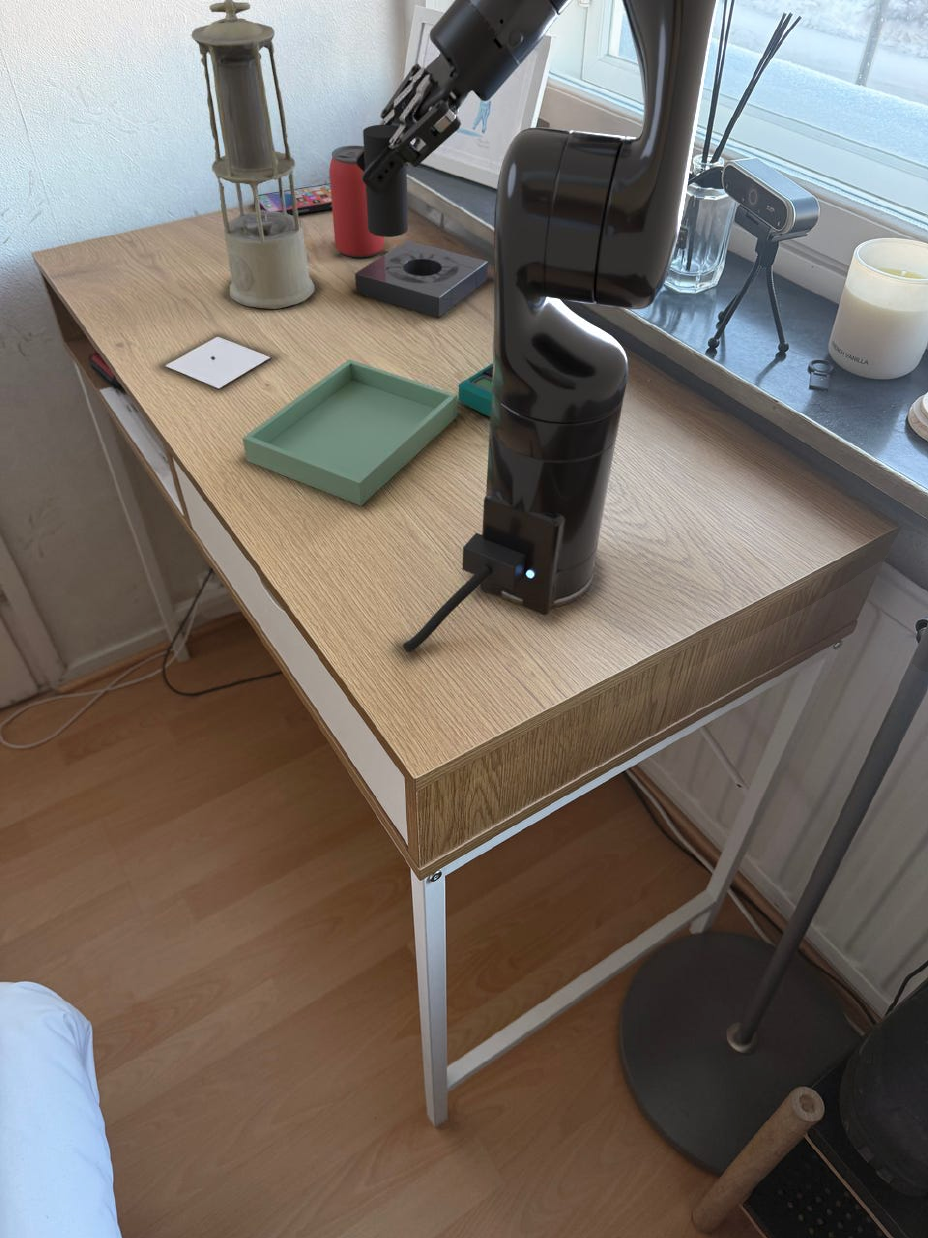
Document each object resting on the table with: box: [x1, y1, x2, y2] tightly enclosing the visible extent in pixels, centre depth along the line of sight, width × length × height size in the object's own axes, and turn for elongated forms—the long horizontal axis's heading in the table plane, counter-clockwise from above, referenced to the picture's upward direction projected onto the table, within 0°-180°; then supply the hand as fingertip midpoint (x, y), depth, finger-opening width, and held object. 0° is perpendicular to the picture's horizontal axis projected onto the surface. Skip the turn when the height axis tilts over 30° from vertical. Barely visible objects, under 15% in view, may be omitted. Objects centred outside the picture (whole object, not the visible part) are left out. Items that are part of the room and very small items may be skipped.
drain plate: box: [354, 239, 489, 319], centre depth 108 cm, size 12×12×2 cm
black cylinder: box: [362, 124, 409, 238], centre depth 84 cm, size 4×4×9 cm
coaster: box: [164, 336, 271, 389], centre depth 95 cm, size 8×8×1 cm
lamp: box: [191, 0, 316, 310], centre depth 98 cm, size 10×13×30 cm
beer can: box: [328, 145, 385, 258], centre depth 112 cm, size 7×7×12 cm
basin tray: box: [242, 359, 458, 507], centre depth 85 cm, size 17×13×3 cm
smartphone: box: [253, 182, 332, 216], centre depth 127 cm, size 7×1×15 cm
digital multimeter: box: [457, 362, 493, 418], centre depth 92 cm, size 7×15×3 cm, turn 142°
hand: (366, 176), depth 84 cm, fingers closed on black cylinder, 4 cm apart
